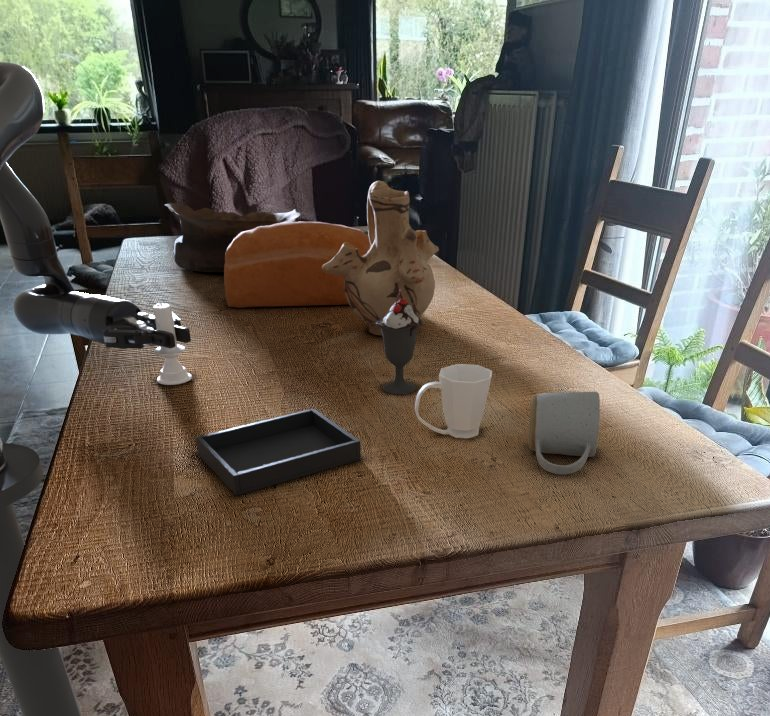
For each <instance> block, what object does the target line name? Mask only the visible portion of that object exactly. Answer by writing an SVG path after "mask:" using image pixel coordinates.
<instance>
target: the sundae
mask: <svg viewBox="0 0 770 716" xmlns="http://www.w3.org/2000/svg"><path fill="white" fill-rule="evenodd" d="M398 293H399V294H398V296H400V293H401V290H400V291H399V292H398ZM398 296H397V299H396V303H394V304H393V305H392V307H391V308H390V310H389V313H388V314H387V315H386V316H385V317H382V318H381V319H379V320H378V321H377V322H376V324H377V325H379V326H380V328H381V331H382V336H381V337H382V342H383V350H384V354H385V359H386V360H387V361H388V362H389V363H390V364H391V365H393V366H394V368H395V375H394V379H393V381H391V382H387V383H385V384H384V385H383V387H382V389H383V391H384V392H385V393H388V394H391V395H407V394H411V393H413V392H415V390H416V389H417V387H416V385H415V384H413V383H412V382H409V381H408V382H407V381H406V380H405V375H404V368H405V367H406V366H407V365H409V363H410V362H411V361H412V360H413V358H414V354H415V348H416V342H417V341H416V340H417V335H418V331H419V329H420V328H421V327H422V326H423V325H424V322H423V320H422V318H421V317H417V315H415V314H414V311H415V309H414V308H412V307H411V306H410V305H409V304H408V303H407V301H406V299H402V298H401V296H400V298H401V299H400V300H399V302H397V300H398Z"/></svg>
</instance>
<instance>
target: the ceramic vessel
mask: <svg viewBox="0 0 770 716" xmlns="http://www.w3.org/2000/svg"><path fill="white" fill-rule="evenodd" d="M410 200H411V199H410V192H409V191H408V190H406V191H405V190H398V189H393V188H392V187H389V185H388V183H386V182H385V181H383V180H376V181H374V182H372V183H371V185H370V186H369V189H368V191H367V201H366V221H367V231H368V235H369V241H370V245H371V247H370V249H369V250H368V252H367V253H366V254H365V255H364V256H361V255H359V253H358V250H357V248H354V247H353V246H352V245H351V244H350V243H348V242H344V243H343V245H342V247H341V249H340V250H339V252H338V253H337V254H336V255H335V256H334V258H333V259H332V260H330V261H329V262H328V263H325V264H324V265H323V266H322V270H323V271H324V272H325V273H329V274H333V275H337V276H342V277H344V291H345V295H346V298H347V301H348V303H349V304H348V305H349V307H350V308H351V310H352V312H353V313H354V314H355V315H356V316H357V318H360V319H362V320H363V321H365V322H367V323H368V332H369V333H371V334H372V335H376V336H381V337H383V336H382V331H381V328H380V326H379V325H377V324H376V322H377V321H378V320H379V319H381V318H382V317H385V316H386V315H387V314H388V313H389V310H390V308H391V307H392V305H393V304H394V303H396V299H397V296H398V294H399V293H398V292H399V291H400V290H401V293H400V296H401V298H402V299H406V301H407V303H408V304H409V305H410V306H411V307H412V308H414V309H415V311H414V314H415V315H417V317H418V318H421V316H423V315H424V313H425V312H426V311H427V309H428V308H429V306H430V304H431V303H432V300H433V298H434V295H435V289H436V281H435V276H434V272H433V269H432V267H431V265H430V264H429V260H430V258H432V257H433V256H434V255H435V254H436V253H438V252H439V251H440V249H439V246H438V245H435V244H434V243H433V242H432V241H431V240H430V238H429V236H428V232H427V230H423V229H418V230H414V229H413V228H412V227H411V224H410V203H411V201H410ZM400 296H398V300H397V302H399V300H400V299H401V298H400Z"/></svg>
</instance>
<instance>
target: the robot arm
mask: <svg viewBox="0 0 770 716" xmlns="http://www.w3.org/2000/svg"><path fill="white" fill-rule="evenodd" d="M44 115H45V99H44V95H43V92H42V89H41V86H40V84H39V81H38V79H36V77H35V76H34V74H33V73H32V72H31V71H30V70H29V69H28V68H26V67H25V66H24V65H23V66H22V65H20V64H18V63H13V62H6V61H0V222H1V226H2V229H3V232H4V236H5V240H6V243H7V247H8V250H9V254H10V257H11V261H12V264H13V267H14V269H15V271H16V272H17V273H18V274H20V275H22V276H24V277H28V278H29V277H30V278H41V277H42V278H43V279H44V284H40V285H37V286H35V287H32V288H28V289H26V290H25V289H24V290H23V291H21V292H19V293H18V294H16V296H15V298H14V301H13V306H12V307H13V308H12V309H13V313H14V315H15V318H16V319H17V321H18V322H19V323H20V325H22V326H23V327H24V328H25V329H27V330H28V331H30V332H32V333H35V334H40V335H68V334H71V335H73V336H77V337H81V338H85V339H87V340H90V341H92V342H95V343H98V344H102V345H105V348H109V349H111V348H112V349H120V350H121V349H122V350H128V349H138V350H141V349H143V348H145V346H148V347H155V346H157V347H160V346H162V347H166V348H170V349H171V348H174V347H175V340H174V335H173V334H172V333H170V332H166V331H160V330H157V327H156V321H155V315H154V314H150V313H148V312H143V311H142V310H141V309H140V308H139V306H137V304H135V303H133V302H131V301H130V300H125V299H120V298H116V297H111V296H107V295H101V294H89V293H86V292H85V293H84V292H79V291H76V289H75V288H74V285H73V284H72V282H71V281H70V279H69V277H68V274H67V273H66V270H65V269H64V267H63V264H62V263H61V260H60V258H59V254H58V250H57V245H56V242H55V237H54V233H53V229H52V225H51V222H50V220H49V217H48V215H47V213H46V211H45V209H44V208H43V207H42V205H41V204H40V202H39V201H38V199H36V197H35V196H34V195H33V194H32V193H31V192H30V190H29V189H28V188H27V187H26V185H25V184H24V183H23V182H22V181H21V180H20V178H19V177H18V176H17V175H16V173H15V172H14V171H13V169H12V168H11V167H10V166H9V164H8V162H7V161H8V160H9V159H10V158H11V157H12V156H13V155H14V153H15V152H16V151H17V150H18V149H19V148H21V146H23V145H24V144H26V143H27V142H28V141H29V140H30V139H32V138H33V137H34V136H35V135H36V134H37V133H38V132H39V130H40V128H41V127H42V123H43V120H44ZM172 315H173V320H174V328H175V334H176V340H177V342H179V343H183V344H188V343H190V342H191V341H192V339H191V331H190V328H188V327H187V326H186V327H185V326H182V325H181V322H182V321H181V318H180V317H179V316H178V315H176V313H174V312H173V311H172ZM2 443H3V440H2V437H1V436H0V474H1V473H2V472H3V471H4V470H5V469H6V467H7V460H6V457H5V456H4V454H3V449H2V445H3V444H2Z"/></svg>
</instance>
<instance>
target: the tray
mask: <svg viewBox="0 0 770 716" xmlns="http://www.w3.org/2000/svg"><path fill="white" fill-rule="evenodd" d="M195 442H196V447H197V448H196V449H197V453H198V456H199V457H200V459H202V461H203V462H204V463H205V464H206V465H207V466H208V467H209V468H210V469H211V470H212V471H213V472H214V474H216V476H217V477H219V479H220V480H221V481H222V482H223V484H225V485H226V486H227V487H228V489H229V490H230V491H231V492H232V493H233V494H234V495H235V496H236V497H237V496H240V495H243V494H247V493H251V492H254V491H258V490H262V489H265V488H268V487H272V486H275V485H279V484H282V483H284V482H285V483H286V482H289V481H291V480H295V479H299V478H302V477H305V476H309V475H312V474H315V473H319V472H322V471H326V470H330V469H333V468H336V467H340V466H344V465H346V464H351V463H353V462H357V461H360V460H362V451H361V440H360V439H359V438H357V437H355V436H354V435H352V434H351V433H350V432H348V431H347V430H345V429H344V428H342V427H341V426H340V425H338V424H337V423H335V422H334V421H333V420H331V419H330V418H328V417H327V416H325V415H324V414H323V413H321V412H320V411H318V410H317V409H315V408H308V409H306V410H301V411H297V412H292V413H288V414H284V415H280V416H276V417H272V418H268V419H264V420H260V421H255V422H252V423H248V424H243V425H240V426H235V427H231V428H227V429H224V430H219V431H214V432H211V433H206V434H202V435H199V436H196V437H195Z"/></svg>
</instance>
